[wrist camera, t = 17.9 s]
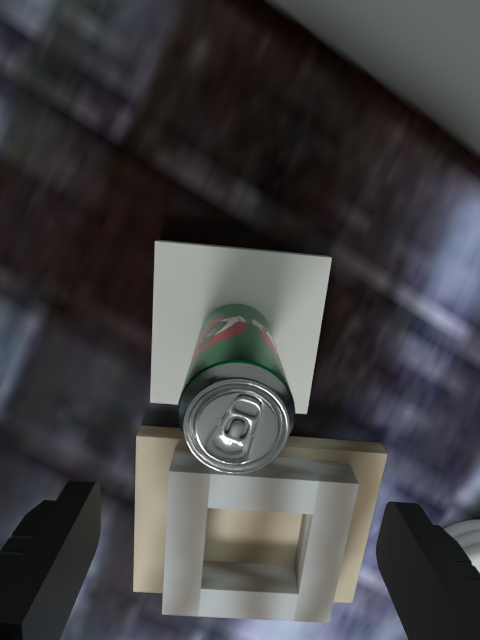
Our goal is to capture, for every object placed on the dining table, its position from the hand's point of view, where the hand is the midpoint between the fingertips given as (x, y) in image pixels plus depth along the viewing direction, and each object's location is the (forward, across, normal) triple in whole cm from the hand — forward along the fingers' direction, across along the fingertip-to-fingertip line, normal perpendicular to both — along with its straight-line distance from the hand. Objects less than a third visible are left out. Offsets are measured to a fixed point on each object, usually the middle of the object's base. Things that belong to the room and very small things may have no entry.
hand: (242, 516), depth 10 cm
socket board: (+18, -3, +17) cm, 25 cm away
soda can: (+17, 0, 0) cm, 17 cm away
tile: (+18, 0, 0) cm, 18 cm away
